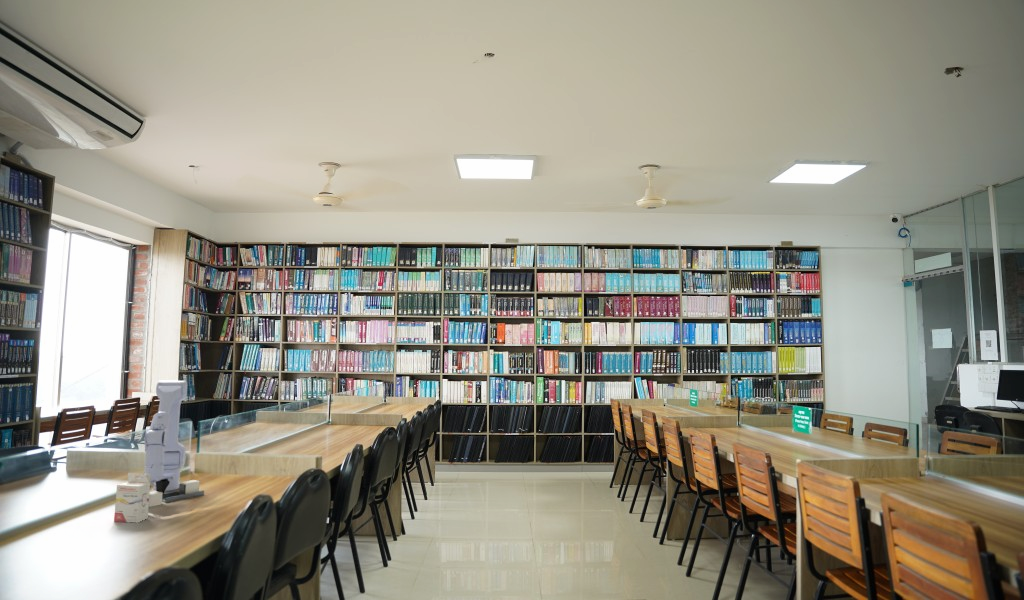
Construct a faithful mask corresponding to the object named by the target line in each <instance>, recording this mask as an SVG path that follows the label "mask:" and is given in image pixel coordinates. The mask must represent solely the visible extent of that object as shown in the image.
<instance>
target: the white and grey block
mask: <svg viewBox="0 0 1024 600" xmlns="http://www.w3.org/2000/svg"><path fill="white" fill-rule="evenodd" d="M200 482H201V481H200V480H196V479H190V480H184V481H180V482H179V488H178V491H179V494H180V495H182V494H187V493H192V492H197V491H200Z"/></svg>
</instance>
